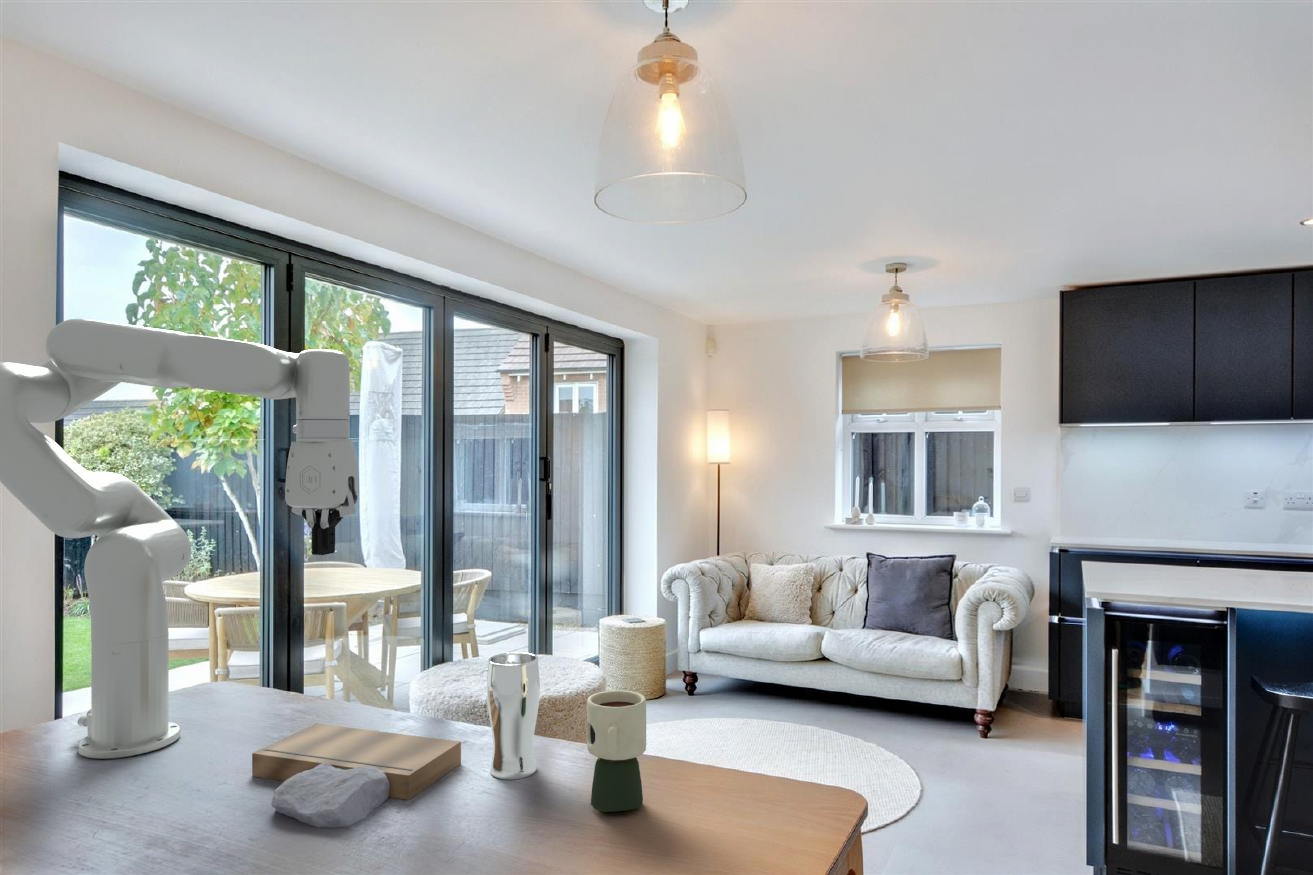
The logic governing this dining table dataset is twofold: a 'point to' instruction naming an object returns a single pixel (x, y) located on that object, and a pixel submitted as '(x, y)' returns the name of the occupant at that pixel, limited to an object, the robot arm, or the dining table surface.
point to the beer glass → (513, 713)
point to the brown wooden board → (361, 756)
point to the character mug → (616, 748)
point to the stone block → (332, 795)
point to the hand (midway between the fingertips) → (323, 553)
